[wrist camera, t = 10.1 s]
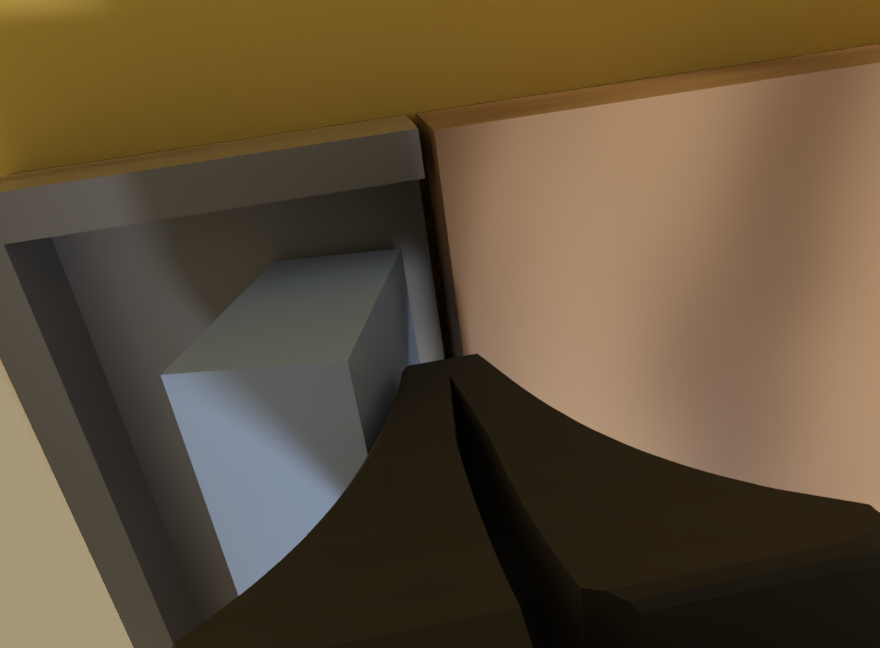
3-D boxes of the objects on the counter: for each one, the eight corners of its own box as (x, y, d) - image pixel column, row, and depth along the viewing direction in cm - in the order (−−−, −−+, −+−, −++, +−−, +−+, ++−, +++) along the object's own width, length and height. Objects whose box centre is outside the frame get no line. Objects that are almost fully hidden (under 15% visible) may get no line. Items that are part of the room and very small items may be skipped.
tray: (406, 114, 13) (417, 128, 10) (499, 757, 21) (518, 845, 18) (9, 174, 12) (-72, 203, 10) (264, 808, 20) (253, 905, 18)
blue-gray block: (347, 360, 8) (160, 375, 8) (403, 621, 10) (248, 623, 10) (401, 248, 12) (274, 260, 12) (433, 447, 14) (322, 453, 14)
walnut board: (961, 31, 13) (1120, 25, 11) (842, 683, 21) (914, 776, 19) (416, 113, 13) (434, 130, 10) (506, 756, 21) (529, 864, 18)
